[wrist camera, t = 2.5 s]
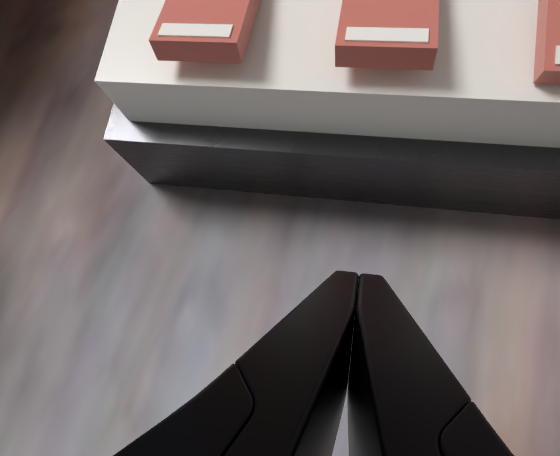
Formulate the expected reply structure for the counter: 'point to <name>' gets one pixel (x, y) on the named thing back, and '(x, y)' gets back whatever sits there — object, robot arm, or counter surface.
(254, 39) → the power strip
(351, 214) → the counter surface
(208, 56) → the rocker
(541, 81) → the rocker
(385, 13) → the rocker middle
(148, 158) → the stand
